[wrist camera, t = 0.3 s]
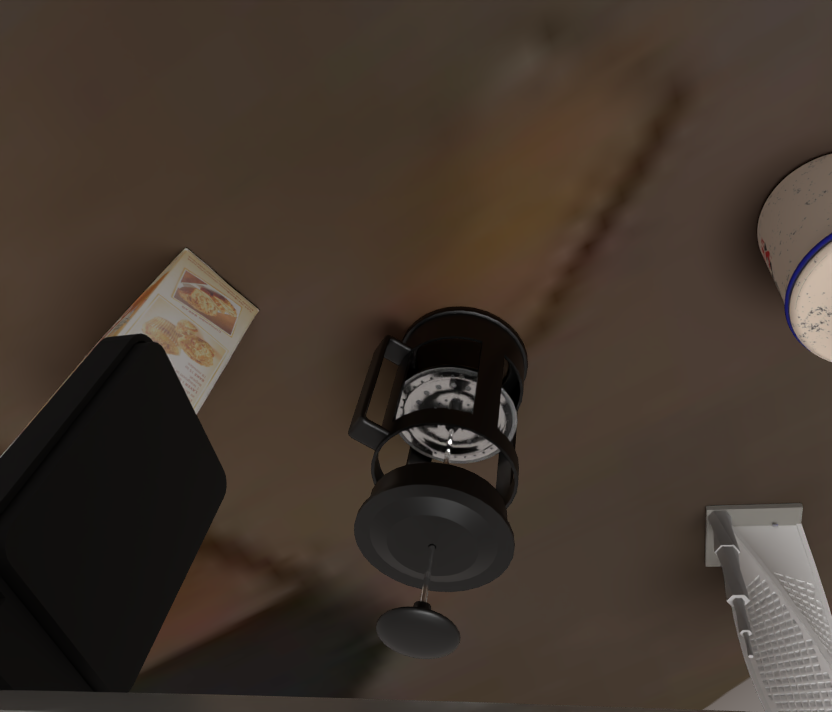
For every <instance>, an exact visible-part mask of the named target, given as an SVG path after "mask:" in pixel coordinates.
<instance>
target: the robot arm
mask: <svg viewBox="0 0 832 712" xmlns="http://www.w3.org/2000/svg"><path fill="white" fill-rule="evenodd" d="M225 493H226V475H225V472H224V470H223V468H222V466H221V464H220V462H219V460H218V458H217V455H216V453H215V451H214V449H213V447H212V445H211V443H210V441H209V439H208V437H207V435H206V433H205V431H204V429H203V427H202V425H201V423H200V421H199V419H198V417H197V415H196V413H195V411H194V409H193V407H192V405H191V403H190V401H189V399H188V397H187V394H186V392H185V390H184V388H183V386H182V384H181V382H180V380H179V378H178V376H177V374H176V372H175V370H174V368H173V366H172V364H171V362H170V360H169V358H168V356H167V354H166V352H165V350H164V348H163V347H162V346H161V345H160V344H159V343H157V342H153V341H152V339H151V338H150V337H148V336H147V335H145V334H142V333H140V334H131V335H121V336H112V337H106V338H104V339H102V340H101V341H100V342H99V343H98V344H97V345H96V347H95V348H94V349H93V350H92V351H91V352H90V354H89V355H88V356H87V357H86V358H85V359H84V361H83V362H82V363H81V364H80V365H79V366H78V368H77V369H76V370H75V371H74V372H73V373H72V375H71V376H70V377H69V378H68V379H67V380H66V382H65V383H64V384H63V385H62V386H61V387H60V389H59V390H58V391H57V392H56V393H55V395H54V396H53V397H52V398H51V399H50V400H49V402H48V403H47V404H46V405H45V406H44V407H43V409H42V410H41V411H40V412H39V413H38V414H37V416H36V417H35V418H34V419H33V420H32V421H31V423H30V424H29V425H28V426H27V427H26V428H25V430H24V431H23V432H22V433H21V434H20V435H19V437H18V438H17V439H16V440H15V441H14V443H13V444H12V445H11V446H10V447H9V448H8V450H7V451H6V452H5V453H4V454H3V455H2V457H1V458H0V712H741V711H714V710H686V709H656V708H627V707H598V706H569V705H540V704H511V703H481V702H448V701H415V700H381V699H348V698H312V697H277V696H241V695H203V694H160V693H128V692H129V691H130V689H131V688H132V686H133V684H134V682H135V680H136V678H137V676H138V674H139V672H140V670H141V668H142V666H143V664H144V662H145V660H146V658H147V655H148V653H149V651H150V649H151V647H152V645H153V643H154V641H155V639H156V637H157V635H158V633H159V631H160V629H161V626H162V624H163V622H164V620H165V618H166V616H167V614H168V612H169V610H170V608H171V606H172V604H173V602H174V600H175V597H176V595H177V593H178V591H179V589H180V587H181V585H182V583H183V581H184V579H185V577H186V575H187V573H188V571H189V568H190V566H191V564H192V562H193V560H194V558H195V556H196V554H197V552H198V550H199V548H200V546H201V544H202V542H203V539H204V537H205V535H206V533H207V531H208V529H209V527H210V525H211V523H212V521H213V519H214V517H215V515H216V513H217V510H218V508H219V506H220V504H221V502H222V500H223V498H224V495H225ZM742 712H744V711H742Z"/></svg>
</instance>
